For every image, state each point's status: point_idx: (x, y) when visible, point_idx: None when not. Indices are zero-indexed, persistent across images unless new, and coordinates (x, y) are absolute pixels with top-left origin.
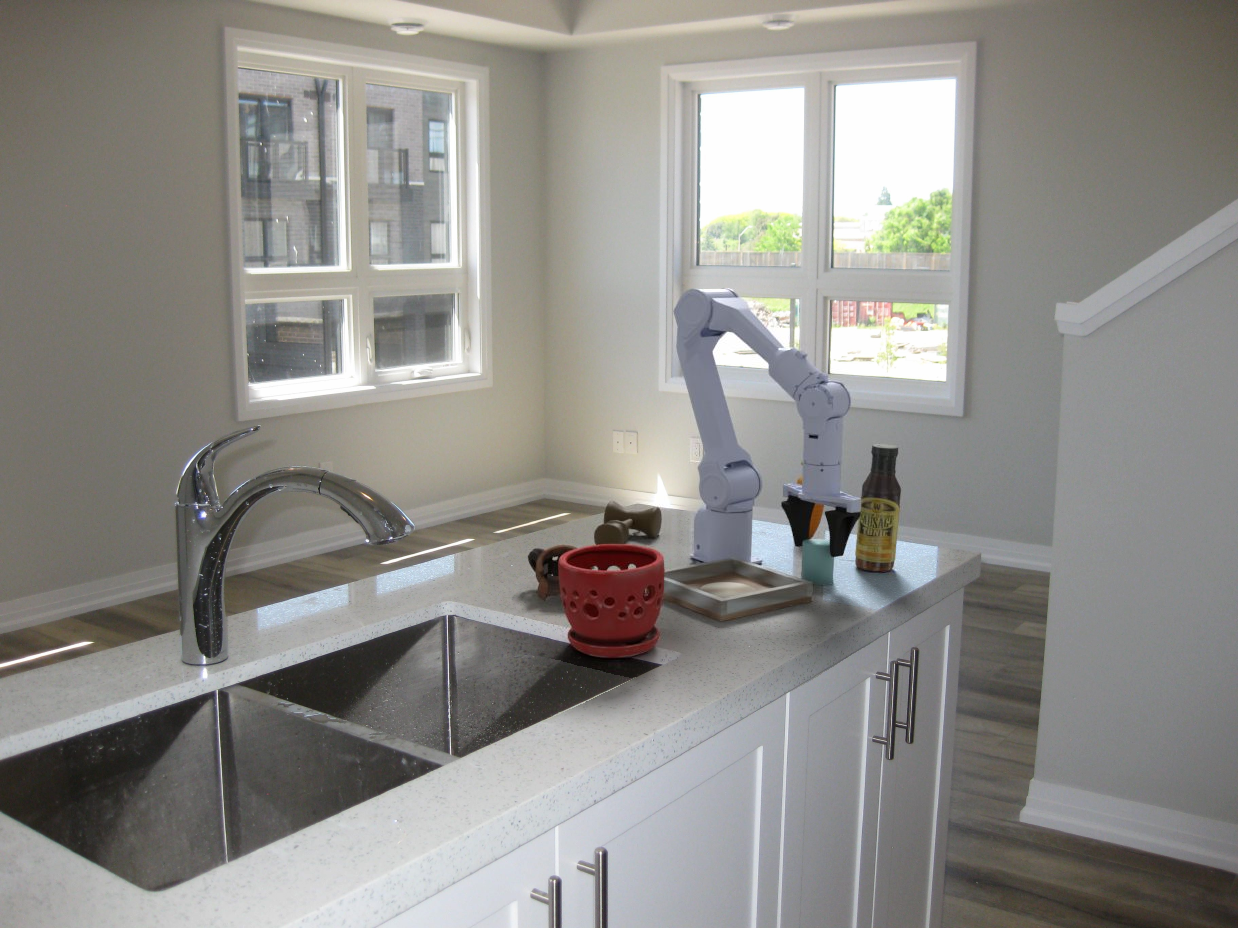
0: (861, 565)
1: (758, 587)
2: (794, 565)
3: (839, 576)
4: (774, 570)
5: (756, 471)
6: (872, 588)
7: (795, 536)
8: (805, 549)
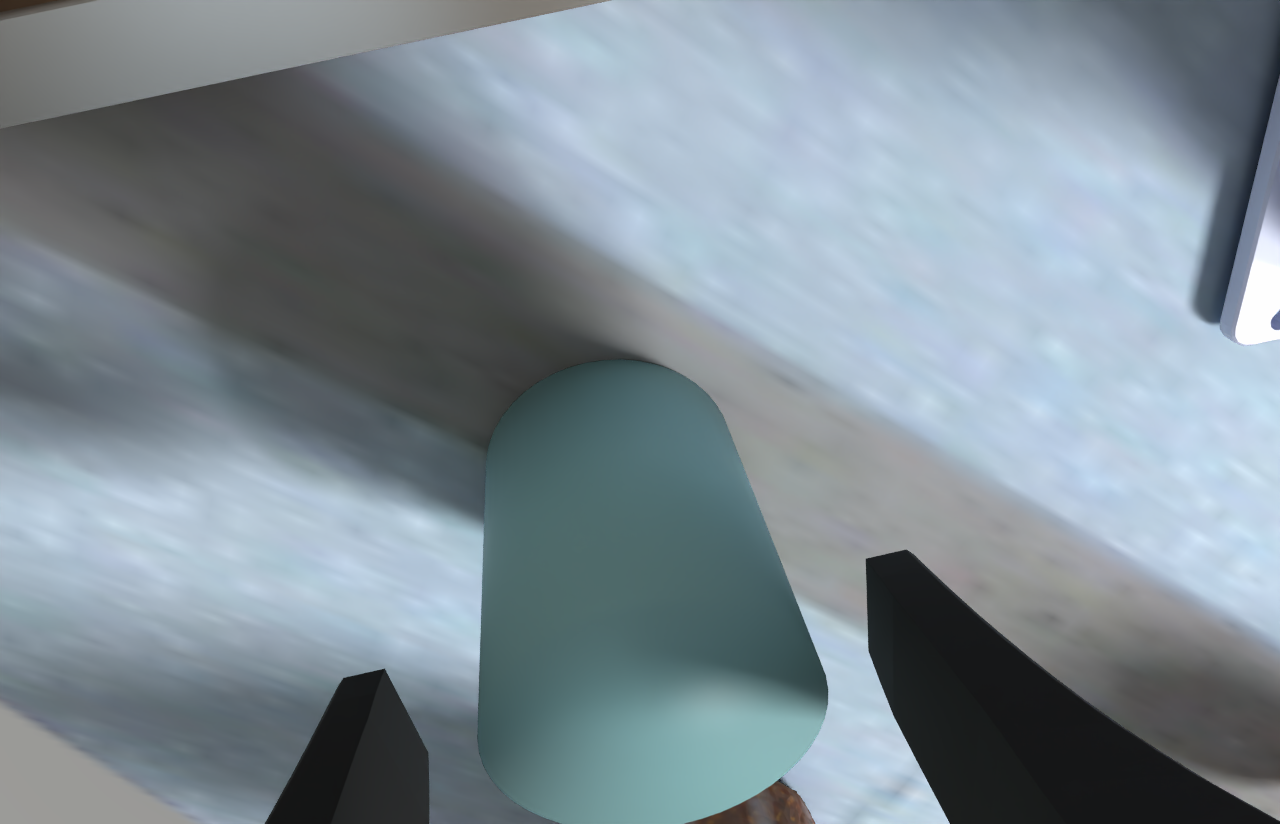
0: None
1: None
2: (1018, 504)
3: None
4: (517, 4)
5: None
6: (303, 681)
7: (928, 623)
8: (643, 555)
